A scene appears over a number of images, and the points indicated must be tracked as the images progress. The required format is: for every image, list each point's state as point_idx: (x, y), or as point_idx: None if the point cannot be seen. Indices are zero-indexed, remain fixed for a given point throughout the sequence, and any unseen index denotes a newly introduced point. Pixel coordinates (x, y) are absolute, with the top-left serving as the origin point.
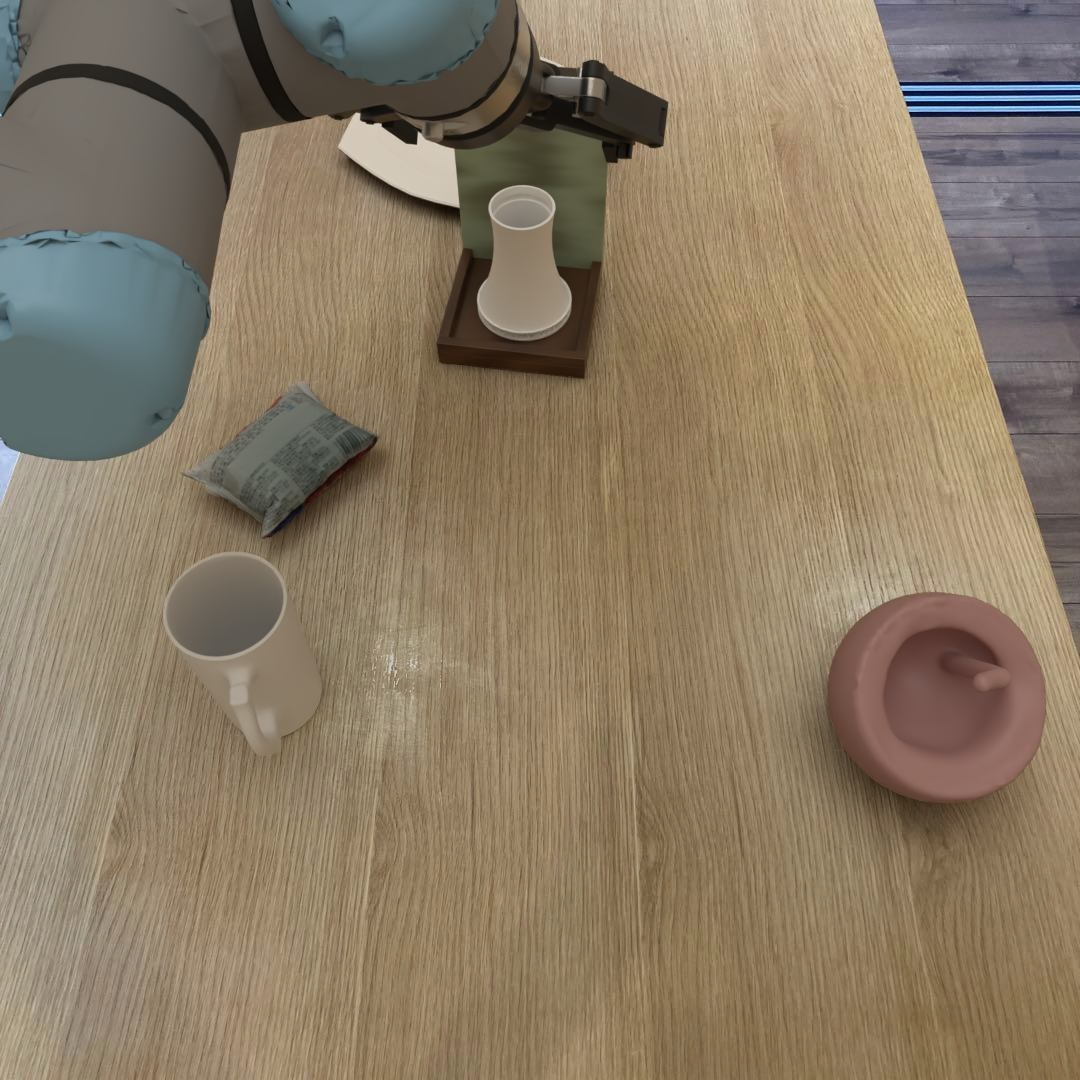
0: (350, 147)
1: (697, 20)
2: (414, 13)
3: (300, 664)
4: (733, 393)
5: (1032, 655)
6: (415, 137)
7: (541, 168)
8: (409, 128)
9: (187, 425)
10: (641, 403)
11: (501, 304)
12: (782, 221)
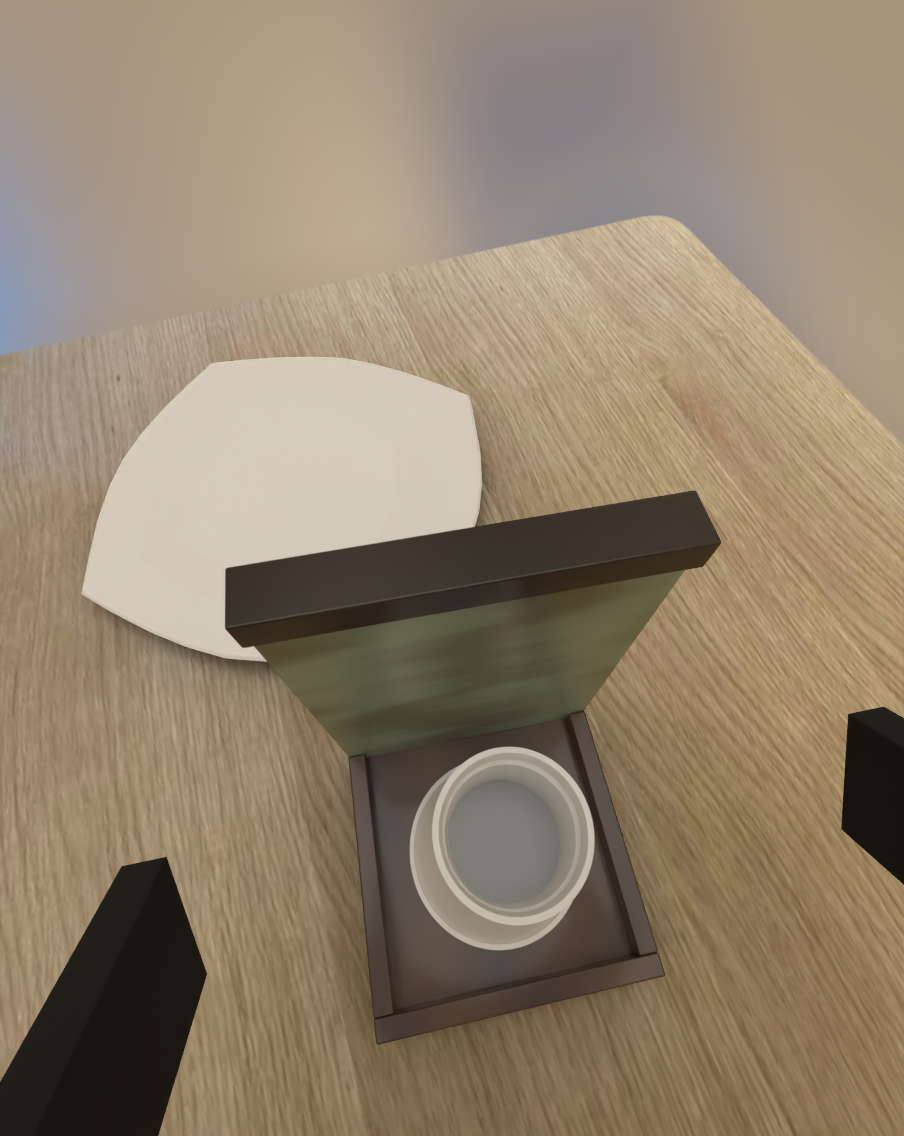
0: (102, 589)
1: (501, 263)
2: None
3: None
4: (892, 903)
5: None
6: (191, 988)
7: (495, 671)
8: (146, 1105)
9: None
10: (769, 994)
11: (479, 924)
12: (757, 524)
